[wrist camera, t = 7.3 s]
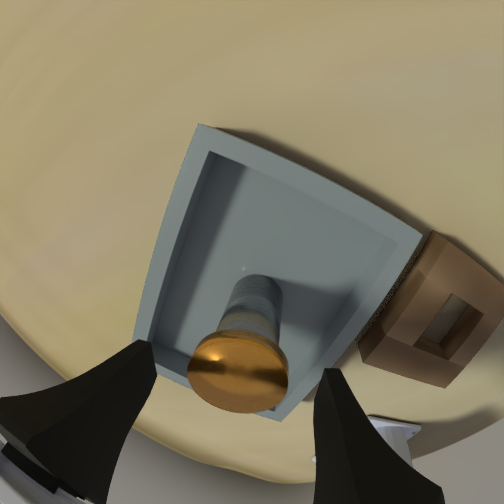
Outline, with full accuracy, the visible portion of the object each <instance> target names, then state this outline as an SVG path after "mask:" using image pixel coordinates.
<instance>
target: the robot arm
mask: <svg viewBox="0 0 504 504" xmlns="http://www.w3.org/2000/svg"><path fill="white" fill-rule="evenodd" d="M156 377H157V371H156V366H155V361H154V356H153V351H152V346H151V342H148V341H144V340H140V339H138V340H136V341H135V342H133V343H132V344H130V345H129V346H127V347H126V348H124V349H123V350H121V351H120V352H118V353H117V354H115V355H114V356H112V357H110V358H109V359H107V360H106V361H104V362H103V363H101V364H99V365H98V366H96V367H94V368H92V369H91V370H89V371H87V372H85V373H84V374H82V375H80V376H78V377H76V378H74V379H71V380H69V381H67V382H65V383H62V384H60V385H57V386H54V387H51V388H48V389H45V390H42V391H38V392H34V393H29V394H25V395H19V396H9V397H1V398H0V433H1V434H2V436H3V437H4V438H5V439H6V440H7V441H8V442H7V443H6V445H5V444H4V443H3V442H2V441H1V440H0V502H1V503H2V504H86V503H84V502H82V501H80V500H79V499H77V498H76V497H79V498H81V499H83V500H85V499H86V500H88V501H90V502H91V503H93V504H106V501H107V496H108V492H109V487H110V483H111V480H112V476H113V473H114V469H115V466H116V463H117V460H118V457H119V454H120V452H121V449H122V446H123V444H124V441H125V439H126V437H127V434H128V433H129V431H130V429H131V427H132V425H133V423H134V422H135V420H136V418H137V416H138V415H139V413H140V411H141V409H142V408H143V406H144V404H145V402H146V400H147V399H148V397H149V395H150V393H151V390H152V388H153V385H154V383H155V380H156ZM313 425H314V440H315V455H316V456H315V457H313V459H312V461H313V462H316V481H315V493H314V502H313V504H445V500H444V495H443V491H442V488H441V487H440V486H438V485H436V484H435V483H433V482H432V481H430V480H429V479H427V478H425V477H424V476H423V475H421V474H420V473H419V472H417V471H416V470H415V469H414V468H413V465H412V460H411V456H410V451H409V447H408V443H407V441H408V440H409V439H410V438H411V437H413V436H414V435H415V434H417V433H418V432H419V431H420V430H421V429H422V428H421V426H420V425H415V424H409V423H403V422H397V421H391V420H386V419H381V418H376V417H372V416H368V417H367V416H366V414H365V413H364V411H363V410H362V408H361V406H360V405H359V403H358V401H357V400H356V398H355V396H354V395H353V393H352V391H351V389H350V387H349V385H348V383H347V382H346V380H345V378H344V376H343V374H342V372H341V370H340V369H336V368H324V371H323V375H322V378H321V381H320V384H319V387H318V390H317V393H316V396H315V399H314V415H313Z"/></svg>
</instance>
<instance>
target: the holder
mask: <svg viewBox="0 0 504 504" xmlns="http://www.w3.org/2000/svg"><path fill="white" fill-rule="evenodd" d="M451 293H452V294H454V295H456V296H457V297H459V298H460V299H462V300H463V301H465V302H467V303H468V304H469V305H468V306H467V308H466V309H465V311H464V312H463V314H462V315H461V316H460V318H459V319H458V321H457V322H456V323H455V325H454V326H453V327H452V329H451V330H450V331H449V333H448V334H447V335H446V336H445V338H444V339H443V340H442V342H441V343H440V344H437V343H435V342H433V341H430V340H428V339H426V338H424V337H421V335H422V333H423V332H424V331H425V329H426V328H427V327H428V325H429V324H430V323H431V321H432V320H433V319H434V317H435V316H436V315H437V313H438V312H439V310H440V309H441V308H442V306H443V305H444V303H445V302H446V300H447V299H448V297H449V296H450V294H451ZM503 317H504V285H503V284H502V283H501V282H500V281H498V280H497V279H496V278H495V277H494V276H492V275H491V274H490V273H489V272H488V271H487V270H485V269H484V268H483V267H482V266H480V265H479V264H478V263H477V262H475V261H474V260H473V259H472V258H470V257H469V256H468V255H466V254H465V253H464V252H462V251H461V250H460V249H459V248H457V247H456V246H454V245H453V244H452V243H450V242H449V241H448V240H446V239H445V238H443V237H442V236H440V235H439V234H438V233H436V232H435V231H432V233H431V235H430V236H429V238H428V240H427V242H426V244H425V245H424V247H423V249H422V250H421V252H420V254H419V256H418V257H417V259H416V261H415V262H414V264H413V266H412V267H411V269H410V270H409V272H408V274H407V275H406V277H405V278H404V280H403V281H402V283H401V285H400V286H399V288H398V289H397V291H396V292H395V294H394V295H393V297H392V298H391V299H390V301H389V302H388V304H387V305H386V307H385V308H384V310H383V311H382V312H381V314H380V315H379V316H378V318H377V319H376V321H375V322H374V323H373V325H372V326H371V327H370V329H369V330H368V331H367V333H366V334H365V335H364V336H363V338H362V339H361V340H360V342H359V343H358V346H359V349H360V353H361V357H362V361H363V363H365V364H368V365H371V366H374V367H377V368H380V369H383V370H386V371H389V372H392V373H395V374H398V375H401V376H404V377H408V378H411V379H414V380H417V381H421V382H424V383H427V384H431V385H434V386H438V387H441V388H446V387H447V386H448V385H449V384H450V383H451V382H452V381H453V380H454V379H455V378H456V377H457V376H458V374H459V373H460V372H461V371H462V370H463V369H464V368H465V367H466V365H467V364H468V363H469V362H470V361H471V360H472V358H473V357H474V356H475V355H476V353H477V352H478V351H479V350H480V348H481V347H482V346H483V345H484V343H485V342H486V341H487V339H488V338H489V337H490V335H491V334H492V333H493V331H494V330H495V328H496V327H497V326H498V324H499V323H500V321H501V320H502V318H503Z"/></svg>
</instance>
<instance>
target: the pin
mask: <svg viewBox="0 0 504 504" xmlns="http://www.w3.org/2000/svg"><path fill="white" fill-rule="evenodd" d="M282 303H283V294H282V291H281V288H280V287H279V285H278V284H277V283H276V282H275V281H274V280H273V279H271V278H269V277H267V276H264V275H259V274H252V275H248V276H245V277H243V278H241V279H240V280H239V281H238V282H237V283H236V284H235V286H234V288H233V291H232V293H231V296H230V298H229V300H228V303H227V305H226V308H225V310H224V313H223V315H222V318H221V320H220V322H219V325H218V327H217V330H216V332H214V333H211V334H209V335H208V336H206V337H204V338H203V339H202V340H201V341H200V342H199V343H198V345H197V347H196V349H195V351H194V353H193V355H192V357H191V359H190V362H189V364H188V367H187V378H188V381H189V383H190V385H191V387H192V388H193V390H194V391H195V392H196V393H197V394H198V395H199V396H200V397H201V398H202V399H203V400H205V401H206V402H208V403H209V404H211V405H213V406H215V407H218V408H220V409H223V410H226V411H230V412H235V413H257V412H262V411H266V410H268V409H271V408H273V407H275V406H276V405H278V404H279V403H280V402H281V401H282V400H283V399H284V397H285V395H286V393H287V390H288V376H289V364H288V360H287V357H286V356H285V354H284V352H283V351H282V350H281V348H280V347H279V339H280V328H281V315H282Z"/></svg>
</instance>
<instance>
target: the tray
mask: <svg viewBox="0 0 504 504" xmlns="http://www.w3.org/2000/svg"><path fill="white" fill-rule="evenodd" d="M422 236H423V235H422V234H421V233H420V232H418V231H417V230H416V229H414V228H413V227H411V226H410V225H409V224H407V223H406V222H404V221H403V220H401V219H400V218H398V217H396V216H395V215H393V214H391V213H390V212H388V211H386V210H385V209H383V208H381V207H380V206H378V205H376V204H374V203H373V202H371V201H369V200H368V199H366V198H364V197H362V196H360V195H359V194H357V193H355V192H353V191H351V190H350V189H348V188H346V187H344V186H342V185H340V184H338V183H336V182H334V181H333V180H331V179H329V178H327V177H325V176H323V175H321V174H319V173H317V172H315V171H313V170H311V169H309V168H307V167H305V166H303V165H301V164H298V163H296V162H294V161H292V160H290V159H288V158H286V157H283V156H281V155H279V154H277V153H275V152H272V151H270V150H268V149H266V148H263V147H261V146H259V145H256V144H254V143H252V142H249V141H247V140H244V139H242V138H239V137H237V136H234V135H232V134H229V133H227V132H224V131H222V130H219V129H216V128H214V127H210V126H207V125H203V124H199V123H198V125H197V128H196V130H195V132H194V135H193V137H192V140H191V142H190V145H189V148H188V150H187V153H186V155H185V158H184V161H183V163H182V166H181V169H180V171H179V174H178V177H177V180H176V182H175V185H174V188H173V191H172V194H171V197H170V200H169V203H168V206H167V209H166V212H165V215H164V218H163V222H162V225H161V228H160V231H159V235H158V238H157V241H156V245H155V248H154V252H153V255H152V259H151V262H150V266H149V270H148V274H147V278H146V281H145V285H144V289H143V294H142V298H141V302H140V306H139V311H138V315H137V320H136V324H135V329H134V334H133V339H132V343H133V342H135V341H136V340H138V339H140V340H144V341H148V342H151V346H152V351H153V356H154V361H155V366H156V371H157V373H158V374H160V375H162V376H164V377H166V378H168V379H170V380H172V381H174V382H176V383H179V384H181V385H183V386H185V387H187V388H190V389H192V390H193V388H192V387H191V385H190V383H189V381H188V378H187V367H188V364H189V362H190V359H191V357H192V355H193V353H194V351H195V349H196V347H197V345H198V343H199V342H200V341H201V340H202V339H203V338H204V337H206V336H208V335H209V334H211V333H214V332H216V330H217V327H218V325H219V322H220V320H221V318H222V315H223V313H224V310H225V308H226V305H227V303H228V300H229V298H230V296H231V293H232V291H233V288H234V286H235V284H236V283H237V282H238V281H239V280H240V279H241V278H243V277H245V276H248V275H252V274H259V275H264V276H267V277H269V278H271V279H273V280H274V281H275V282H276V283H277V284H278V285H279V287H280V288H281V291H282V294H283V303H282V315H281V328H280V339H279V347H280V348H281V350H282V351H283V352H284V354H285V356H286V357H287V360H288V364H289V376H288V390H287V393H286V395H285V397H284V399H283V400H282V401H281V402H280V403H279V404H278V405H276V406H275V407H273V408H271V409H268V410H266V411H262V412H257V413H254V414H257V415H260V416H263V417H266V418H269V419H272V420H276V421H279V422H281V421H282V420H283V419H284V418H285V417H286V416H287V415H288V414H289V413H290V412H291V411H292V410H293V409H294V408H295V407H296V406H297V405H298V404H299V403H300V402H301V401H302V400H303V399H304V398H305V396H306V395H307V394H308V393H309V392H310V391H311V390H312V389H313V388H314V387H315V386H316V384H317V383H318V382H319V381H320V380H321V378H322V375H323V371H324V368H331V367H332V366H333V365H334V364H335V363H336V361H337V360H338V359H339V358H340V356H341V355H342V354H343V353H344V352H345V350H346V349H347V348H348V347H349V345H350V344H351V343H352V341H353V340H354V339H355V338H356V336H357V335H358V334H359V332H360V331H361V330H362V328H363V327H364V326H365V324H366V323H367V322H368V320H369V319H370V318H371V316H372V315H373V313H374V312H375V311H376V309H377V308H378V306H379V305H380V303H381V302H382V301H383V299H384V298H385V296H386V295H387V293H388V292H389V290H390V289H391V287H392V286H393V284H394V283H395V281H396V279H397V278H398V276H399V275H400V273H401V272H402V270H403V268H404V267H405V265H406V263H407V262H408V260H409V259H410V257H411V255H412V253H413V252H414V250H415V248H416V247H417V245H418V243H419V241H420V240H421V238H422Z"/></svg>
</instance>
